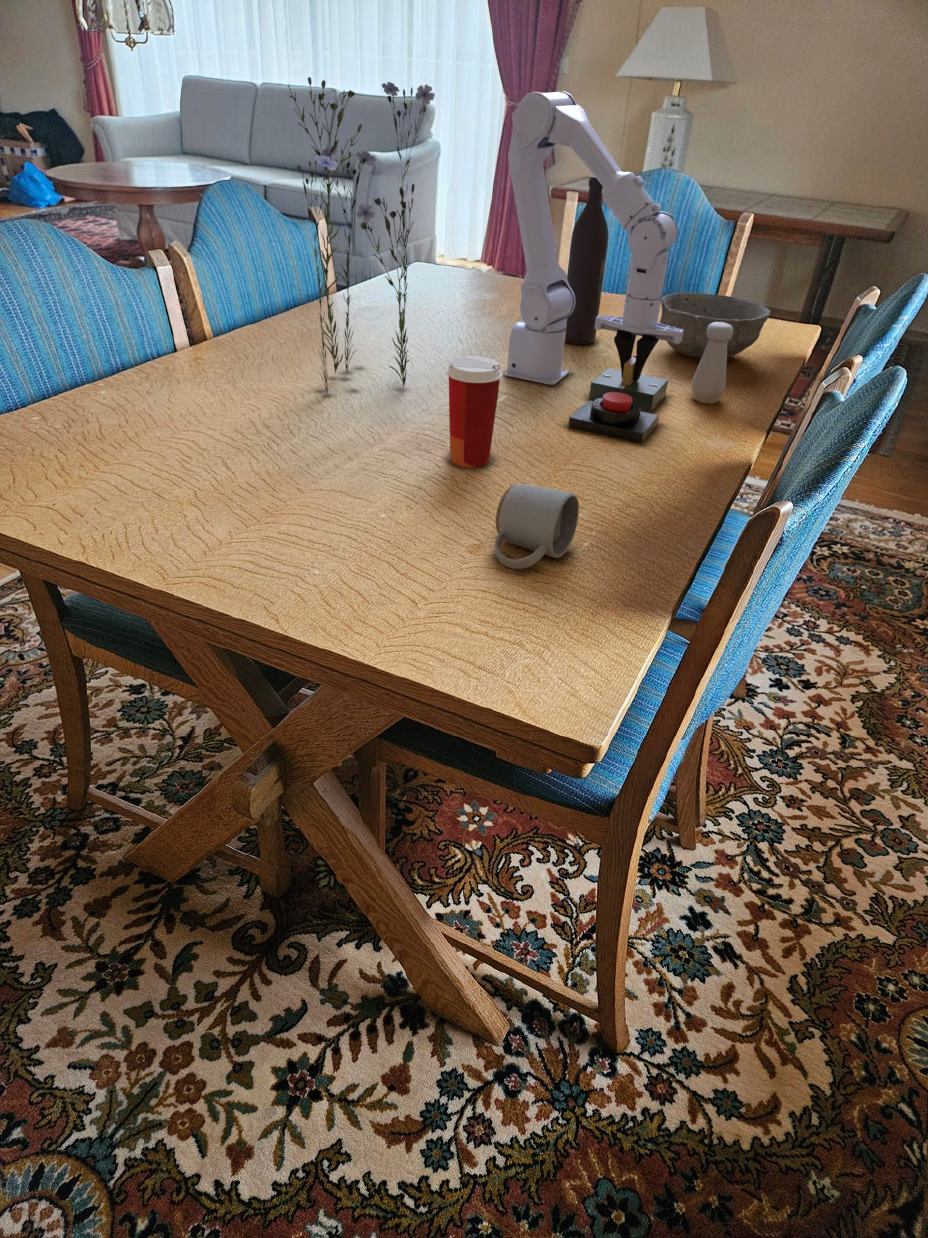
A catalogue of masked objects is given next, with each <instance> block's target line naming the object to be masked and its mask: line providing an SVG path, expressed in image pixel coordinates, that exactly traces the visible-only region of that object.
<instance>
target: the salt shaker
mask: <svg viewBox="0 0 928 1238" xmlns="http://www.w3.org/2000/svg"><path fill="white" fill-rule="evenodd" d="M706 335H707V337H708V338H709V340H708V343H707V346H706V348H705V351H704V353H703V356H702V358H701V359H700V361H699V364H698V366H697V368H696V371H695V373H694V376H693V378H692V380H691V385H690V387H691V393H692V398H693V400H695V401H697V402H699V403H700V404H710V405H713V404H715V403H717V402H719V400H720V399H721V397H722V396H723V395H724V394H725V391H726V383H727V362H728V361H727V359H728V357H727V342H728V340H730V339H731V338H732V335H733V327H732V326H731V325H730V324H728V323H724V322H713V323H711V324H709V325H708V328H707V332H706Z"/></svg>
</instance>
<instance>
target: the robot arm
mask: <svg viewBox="0 0 928 1238" xmlns="http://www.w3.org/2000/svg"><path fill="white" fill-rule="evenodd" d="M511 122H512V126H513V128H512V133H511V138H510V143H509V148H508V153H507V160H508V161H507V163H508V167H509V173H510V178H511V179H510V180H511V184H512V185H511V186H512V191H513V197H514V202H515V208H516V214H517V221H518V227H519V234H520V238H521V245H522V250H523V256H524V262H525V269H526V273H525V275H524V278H523V280H522V282H521V285H520V291H521V300H520V304H519V315H520V317H521V319H522V321H517V322H515V323H514V326H513V327H512V329H511V332H510V336H509V342H508V353H507V354H508V355H507V367H506V372H505V376H506V377H511V378H515V379H520V380H524V381H530V382H535V383H539V384H544V385H548V386H555V385H556V384H558V383H559V382H560V381H561V380H562V379H564V378H565V377H566V376H568V375H569V373H570V372H569V370H566V369H563V360H564V351H565V343H566V342H565V334H566V326H567V317H568V316H570V314H571V313H572V312H573V310H574V308H575V295H574V292H573V290H572V289H571V287H570V286H569V283H568V280H567V274H568V273H566V271H565V270H564V269H563V267H561V265H560V263H559V260H558V252H557V246H556V240H555V239H556V238H555V234H554V227H553V221H552V220H553V219H552V213H551V208H550V201H549V195H548V188H547V180H546V175H545V169H544V162H545V161H546V159H547V157H548V156H549V155H550V153H551V151H552V150H553V149H554V147H555V145H559V146H564V147H567V148H570V149H571V150H572V151H573V152H574V153H575V154H576V155H577V157H578V158H579V159H580V161H582V163H583V164H584V166H585V167H586V168H587V169H588V170H589V172H590V173H591V174H592V176H595V177H596V178H597V180H598V181H599V182H600V183H601V184H602V186H603V189H602V200H603V202H604V203H605V205H606V207H608V209H609V211H611V213H612V214H613V215H614V217H615V218H616V220H617V221H618V222H619V224H620V225H621V227H622V229H624V231H625V232H626V233H627V234H628V236H627V241H628V247H629V249H630V251H631V253H632V254H631V261H630V265H629V272H628V279H627V285H626V293H625V299H624V305H623V312H622V316H612V315H605V314H598V316H597V317H596V321H595V328H594V329H597V330H599V331H600V330H605V331H612V332H616V334H615V336H614V337H613V342H614V344H615V347H616V350H617V354H618V358H619V363H620V371H621V378H623V371H624V365H625V363H626V362H627V361H628V360H629V359H630V358H632V357H633V352H634V347H635V343H636V353H635V354H636V362H635V367H634V373H633V381H637V380H638V379H639V378H640V375H642V373H643V369H644V367H645V364H646V363H647V360H648V358H649V357H650V355H651V353H652V352H653V350H654V348H655V347H656V345H657V344H658V342H659V341H665V342H667V341H671V342H673V343H675V344H679V343H680V342H681V341H682V337H683V332H684V329H679V328H674V327H671V326H667V325H664V324H661V323H660V322H658V321H659V315H660V309H661V299H662V297H663V292H664V285H665V279H666V275H667V274H666V273H667V267H668V262H669V261H668V260H669V255H670V250H669V249H670V248H672V247H673V246H674V244H675V243H676V241H677V239H678V233H679V231H678V225H677V223H676V221H675V218H674V215H673V214H671V213H669V212H667V211H662V206H661V204H660V203H658V202H656V203H655V201H654V199H653V198H652V197H651V196H650V195H649V193H648V192H647V190H646V188H645V187H644V186H643V184H644V183H645V180H644V179H643V178H642V176H641V175H635V174H634V172H633V171H622V170H621V169H620V167H619V165H618V164H617V162H616V161H615V159H614V158H613V156H612V154H611V153H610V152H609V150H608V149H607V147H606V146H605V144H604V143H603V141H602V139H601V137H600V136H599V135H598V133H597V132H596V130H595V129H594V127H593V125H592V124H591V123H590V120H589V118H588V116H587V114H586V111H585V109H584V108H583V107H582V106H581V105H580V104H577V101H576V99H575V98H574V96H573V95H572V94H571V93H569V92H568V91H565V90H558V91H554V92H538V91H532V92H529V93H527V94H526V95H525V96H523V97H522V98H521V100H520V101H519V102H518V105H517V106H516V108H515V109H514V111H513V112H512V113H511ZM637 336H638V337H640V338H639V339H637V340H636V338H637Z"/></svg>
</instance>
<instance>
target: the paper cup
mask: <svg viewBox="0 0 928 1238" xmlns="http://www.w3.org/2000/svg"><path fill="white" fill-rule="evenodd" d="M447 366H448V367H447V368H446V369H445V374H446V375H447V376H448V406H449V407H448V419H449V423H448V424H449V454H450V456H449V457H450V461H451V462H452V463H453V464H455V465H457V466H459V467H463V468H481V467H483V466H486V465H487V464H488V463H489V460H490V455H491V449H492V442H493V435H494V427H495V421H496V412H497V405H498V400H499V390H500V382H501V379H502V378H503V375H504V374H503V372H502V370H501V365H500V363H499V362H498V361H497V360H495V359H492V358H489V357H485V356H478V355H466V356H465V355H464V356H460V357H456V358H453V359H452V360H451V361H450V363H448V365H447Z"/></svg>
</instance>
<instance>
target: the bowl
mask: <svg viewBox="0 0 928 1238" xmlns="http://www.w3.org/2000/svg"><path fill="white" fill-rule="evenodd" d="M660 306H661V317H660V319H659V323H661V324H664V325H667V326H671V327H674V328H679V329H684V332H683V337H682V341H681V342H680V343H679V344H675V343H673V342H671V341H666V342H667V344H668V346H670V348H672V349H673V350H674V351H675V352H677V353H679V354H680V355H683V356H686V357H689V358H694V359H699V360H701V358H702V356H703V353H704V351H705V348H706V346H707V343H708V340H709V338H708V337H707V335H706V332H707V328H708V325H709V324H711V323H713V322H724V323H728V324H730V325H731V326H732V327H733V335H732V338H731V339H730V340H728V342H727V358H731V357H733V356H734V357H735V356H736V355H739V354H741V353H742V352H743V351H745V350H746V349H747V348H749V347H751V346H753V344H754V343H756V341H758V339H759V337H760V334H761V331H762V329H763V327H764V326H765V325H764V324H765V323H766V322H767V321H768V319H769V318H770V315H771V310H770V309H769V308H768V307H766V306H764V305H762V304H760V303H758V302H755V301H752V300H748V299H744V298H738V297H734V296H729V295H724V294H722V295H721V294H713V293H702V292H701V293H700V292H674V293H668V294H666V295H664V296H663V295H662V298H661V304H660Z"/></svg>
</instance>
